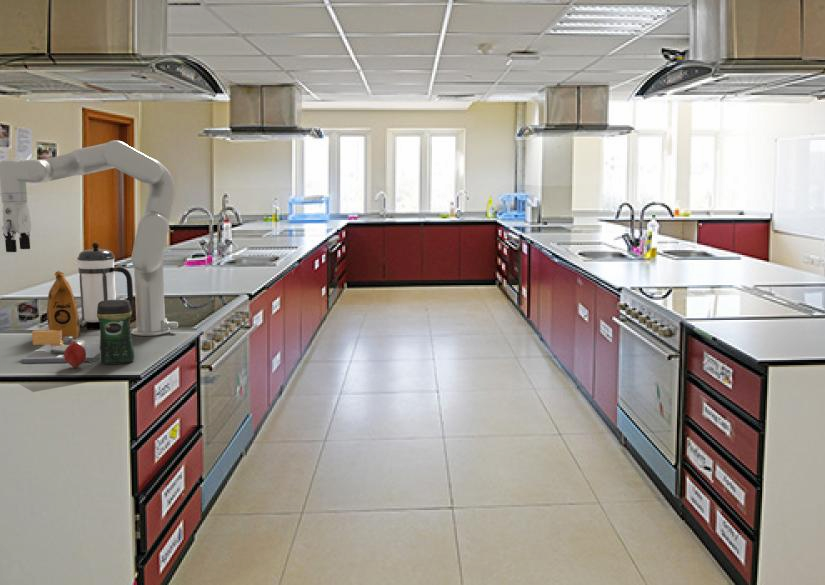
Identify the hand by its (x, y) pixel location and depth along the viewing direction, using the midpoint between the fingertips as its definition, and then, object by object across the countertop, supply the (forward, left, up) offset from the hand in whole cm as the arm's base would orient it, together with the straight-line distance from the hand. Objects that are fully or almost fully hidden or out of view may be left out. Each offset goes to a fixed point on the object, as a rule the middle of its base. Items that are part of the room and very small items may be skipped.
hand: (18, 250), depth 262 cm
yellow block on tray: (-20, +26, -28) cm, 43 cm away
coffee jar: (-39, +37, -30) cm, 62 cm away
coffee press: (-19, -25, -30) cm, 43 cm away
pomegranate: (-29, +43, -30) cm, 60 cm away
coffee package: (-12, -2, -30) cm, 32 cm away
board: (-22, +26, -30) cm, 45 cm away
